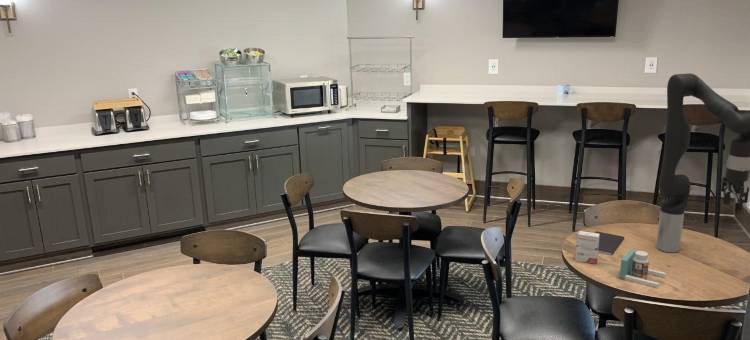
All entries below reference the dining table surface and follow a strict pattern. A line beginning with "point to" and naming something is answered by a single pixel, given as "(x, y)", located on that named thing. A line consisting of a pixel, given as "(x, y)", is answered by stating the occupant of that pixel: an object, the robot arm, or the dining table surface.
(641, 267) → the pill bottle
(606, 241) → the notebook
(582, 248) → the ink box
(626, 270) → the pocket
